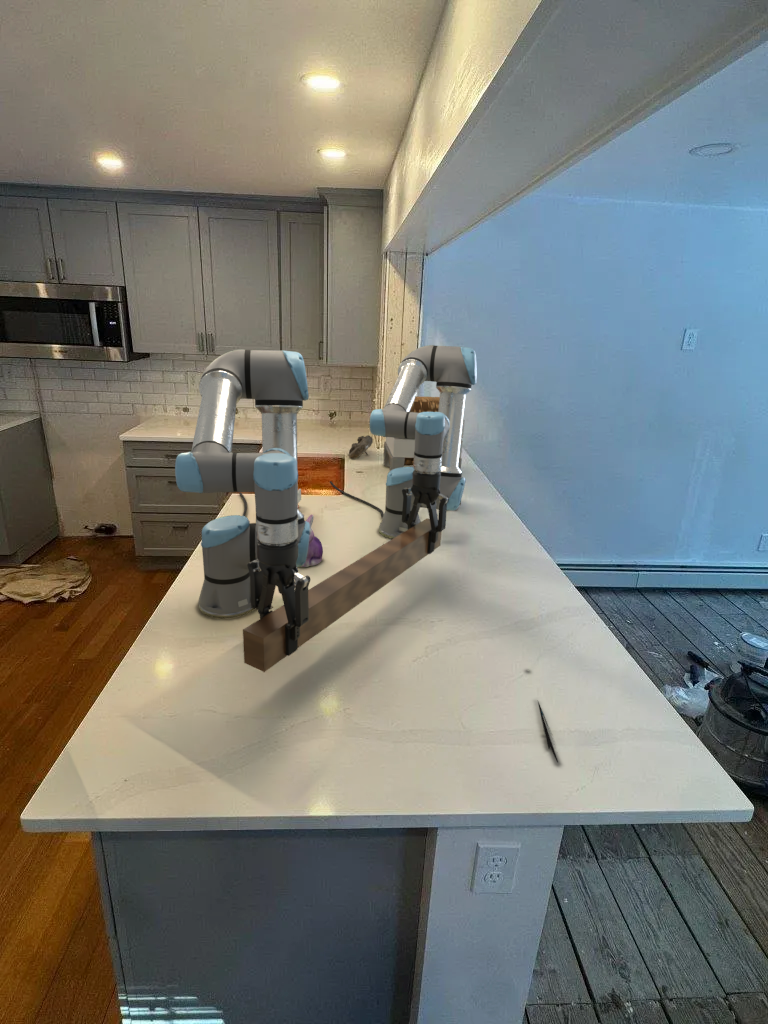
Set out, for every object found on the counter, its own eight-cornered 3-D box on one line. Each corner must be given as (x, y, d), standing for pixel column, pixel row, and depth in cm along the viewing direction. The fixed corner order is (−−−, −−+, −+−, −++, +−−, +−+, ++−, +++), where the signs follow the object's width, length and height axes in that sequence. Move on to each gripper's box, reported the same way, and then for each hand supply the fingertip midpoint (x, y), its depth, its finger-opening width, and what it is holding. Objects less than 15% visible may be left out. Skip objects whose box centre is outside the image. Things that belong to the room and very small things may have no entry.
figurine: (300, 570, 169) (299, 523, 164) (289, 557, 177) (288, 512, 172) (329, 565, 173) (330, 519, 168) (317, 552, 181) (317, 508, 176)
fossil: (348, 441, 313) (370, 426, 308) (359, 455, 316) (380, 440, 311) (342, 455, 293) (365, 439, 288) (353, 469, 296) (376, 454, 291)
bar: (425, 541, 168) (426, 518, 165) (440, 545, 165) (442, 522, 163) (243, 663, 107) (242, 629, 105) (264, 672, 105) (263, 638, 102)
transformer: (382, 463, 289) (386, 382, 275) (445, 464, 293) (451, 384, 279) (390, 482, 257) (394, 392, 243) (460, 483, 261) (468, 394, 247)
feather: (528, 675, 127) (534, 669, 126) (557, 767, 100) (564, 760, 99) (522, 671, 126) (527, 665, 126) (550, 762, 100) (557, 755, 99)
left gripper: (226, 533, 105) (232, 640, 113) (303, 558, 96) (304, 672, 105) (254, 521, 111) (259, 624, 119) (329, 544, 102) (328, 653, 111)
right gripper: (390, 467, 154) (387, 546, 162) (451, 480, 145) (444, 562, 153) (404, 461, 160) (400, 537, 168) (463, 473, 151) (456, 553, 159)
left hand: (280, 646), depth 112 cm, fingers closed on bar, 5 cm apart
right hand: (421, 549), depth 160 cm, fingers closed on bar, 5 cm apart
